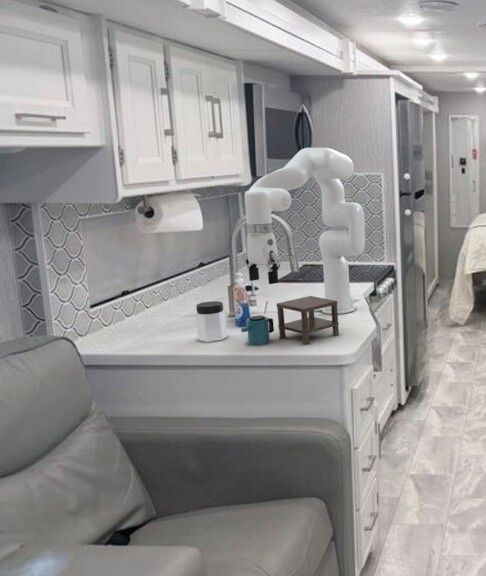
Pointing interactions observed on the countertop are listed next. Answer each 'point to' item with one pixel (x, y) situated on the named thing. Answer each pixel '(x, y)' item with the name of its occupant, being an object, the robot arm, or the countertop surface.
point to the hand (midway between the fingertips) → (263, 281)
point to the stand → (307, 323)
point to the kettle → (258, 330)
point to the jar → (211, 321)
